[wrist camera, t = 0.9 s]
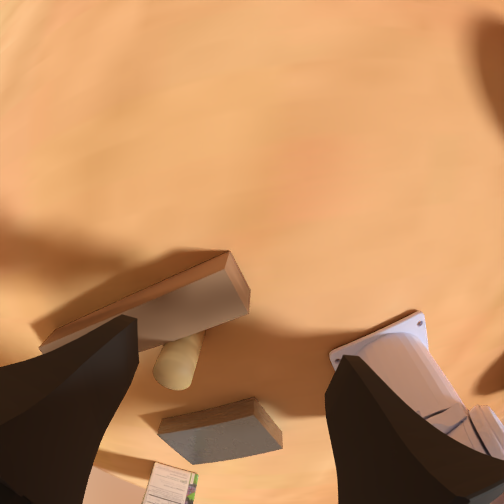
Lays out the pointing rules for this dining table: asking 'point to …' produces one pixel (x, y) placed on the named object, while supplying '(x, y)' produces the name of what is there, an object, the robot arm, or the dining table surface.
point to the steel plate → (222, 432)
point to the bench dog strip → (173, 316)
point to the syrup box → (170, 486)
